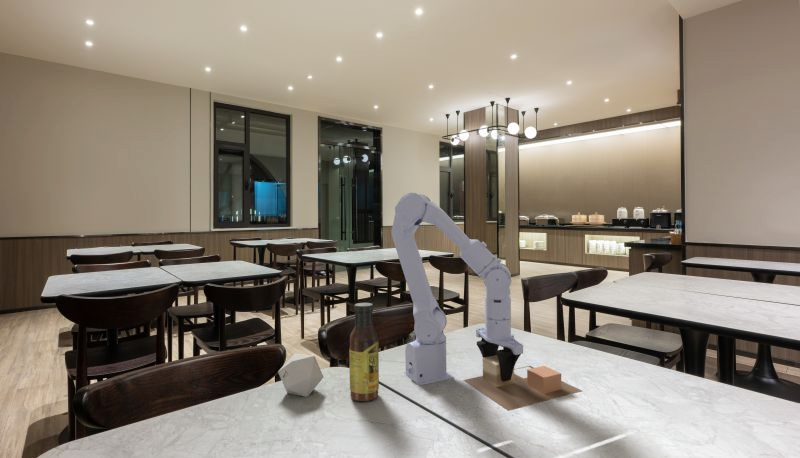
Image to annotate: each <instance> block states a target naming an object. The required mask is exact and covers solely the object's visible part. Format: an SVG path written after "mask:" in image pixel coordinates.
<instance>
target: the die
mask: <svg viewBox="0 0 800 458" xmlns="http://www.w3.org/2000/svg"><path fill="white" fill-rule="evenodd" d="M277 374H278V375H279V377H280V380H281V383H282V384H283V387H284V389H285V391H286V393H287V394H291V395H295V396H300V397H303V398H308V397H309V396H310V394H311V393H312V392H313V390H315V389H316V387H317V386H318V385H319V384H320V382H321V381H322V380H323V379H324V375H323V372H322V369H321V367H320V365H319V363H318V361H317V358H316V356H315V355H310V354H303V353H296V352H294V354H292V356H291V357H290V358H289V359H288V360H287V361H285V363H284V364H283V365H282V367H281V368H280V369H279V370H278V371H277Z"/></svg>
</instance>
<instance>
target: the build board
mask: <svg viewBox="0 0 800 458" xmlns="http://www.w3.org/2000/svg"><path fill="white" fill-rule="evenodd" d="M532 368H535V367H534V366H531V365H527V366H523V367H517V368H514V383H513V384H508V385H504V386H500V387H495V386H493V385H492V384H490V383H489V382H487V381H485V380H484V379H483V375H480V376H475V377H471V378H467V379H466V378H465V379H463V380H462V381H463V382H465V383H467V385H470V386H471V387H472V388H474V389H475V390H477V391H478V392H480V393H481V394H482V395H484V396H485V397H487V398H489V399H490V400H491V401H493V402H494V403H496V404H497V405H499V406H501V407H502V408H503V409H505V410H506V411H508V412H509V411H513V410H515V409H519V408H520V409H521V408H523V407H527V406H531V405H535V404H539V403H543V402H546V401H550V400H554V399H558V398H562V397H565V396H569V395H572V394H573V395H574V394H576V393H580V392H583V390H582V389H579V388H578V387H575V386H573V385H571V384H569V383H567V382H564V381H562V380H561V390H557V391H553V392H549V393H545V394H543V393H541V392H539V391H538V390H536V389H534V388H532V387H530V386H528V385H527V369H532Z"/></svg>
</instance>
